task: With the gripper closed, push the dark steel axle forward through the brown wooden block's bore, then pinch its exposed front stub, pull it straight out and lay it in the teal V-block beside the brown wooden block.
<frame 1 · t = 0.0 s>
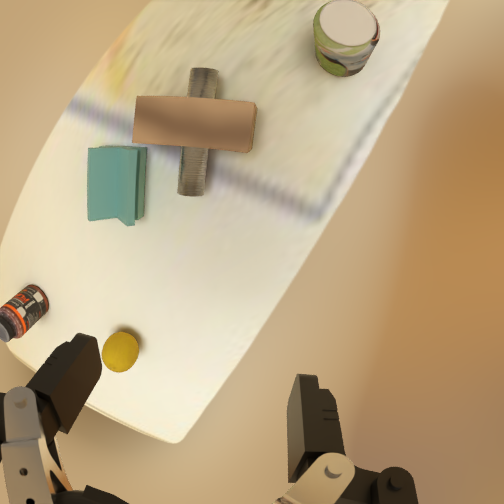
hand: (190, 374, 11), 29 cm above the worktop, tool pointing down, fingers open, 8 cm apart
v block: (124, 180, 38), on the worktop
lemon: (130, 335, 48), on the worktop
brown wooden block: (204, 123, 35), on the worktop
beverage can: (333, 53, 31), on the worktop
axle: (196, 131, 32), point 3 cm above the worktop, touching brown wooden block
supplement bottle: (37, 297, 47), on the worktop
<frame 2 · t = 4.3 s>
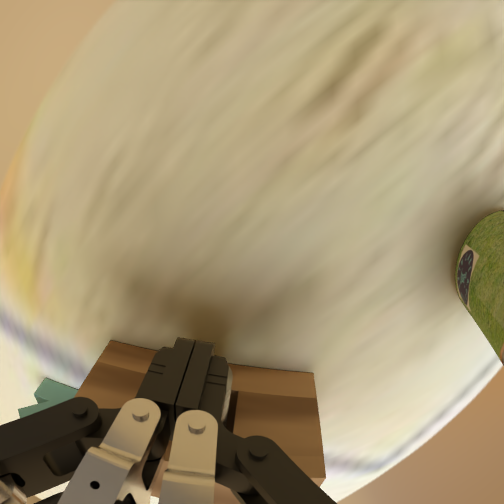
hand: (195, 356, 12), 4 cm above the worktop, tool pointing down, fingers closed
v block: (88, 423, 21), on the worktop
brown wooden block: (206, 389, 18), on the worktop
beverage can: (480, 253, 14), on the worktop
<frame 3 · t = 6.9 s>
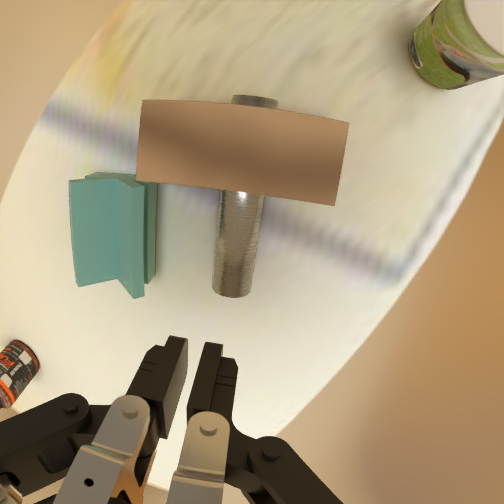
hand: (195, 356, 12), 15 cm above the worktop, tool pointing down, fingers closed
v block: (125, 223, 27), on the worktop
brown wooden block: (246, 142, 24), on the worktop
beverage can: (428, 54, 20), on the worktop
axle: (241, 198, 22), point 3 cm above the worktop, tilted 13°, touching brown wooden block
supplement bottle: (25, 354, 35), on the worktop
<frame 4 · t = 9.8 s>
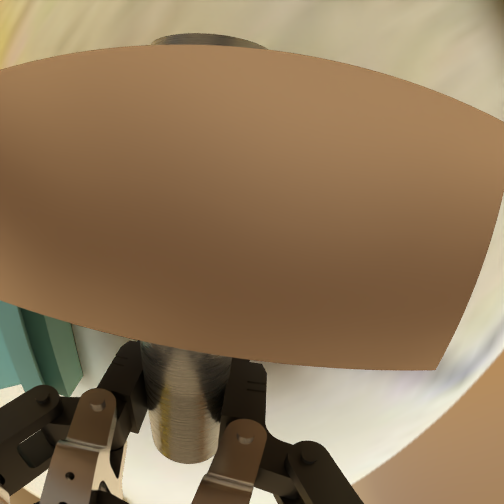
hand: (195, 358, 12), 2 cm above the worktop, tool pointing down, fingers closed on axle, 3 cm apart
v block: (27, 301, 14), on the worktop
brown wooden block: (212, 161, 11), on the worktop
axle: (187, 302, 9), point 3 cm above the worktop, tilted 6°, touching brown wooden block, gripper
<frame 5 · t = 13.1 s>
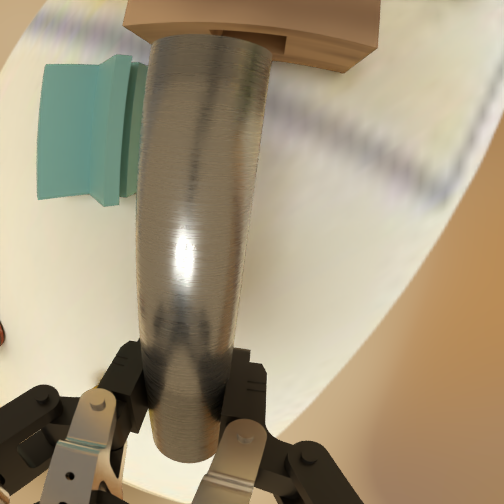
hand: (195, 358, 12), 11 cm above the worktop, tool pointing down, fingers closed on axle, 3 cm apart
v block: (105, 128, 20), on the worktop
brown wooden block: (258, 25, 17), on the worktop
axle: (187, 301, 9), point 13 cm above the worktop, tilted 6°, touching gripper
when the fingers open (5 cm above the worktop, at t = 16.9 s): axle stays where it is, resting on v block.
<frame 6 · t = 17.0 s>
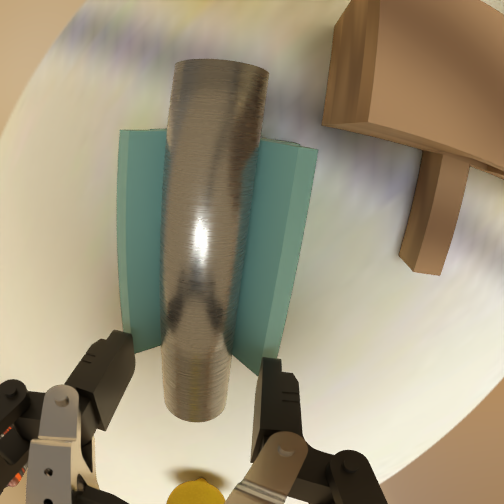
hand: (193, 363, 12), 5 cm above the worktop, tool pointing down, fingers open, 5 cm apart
v block: (218, 228, 15), on the worktop
lemon: (202, 477, 25), on the worktop
brown wooden block: (443, 107, 12), on the worktop
axle: (200, 269, 11), point 4 cm above the worktop, touching v block
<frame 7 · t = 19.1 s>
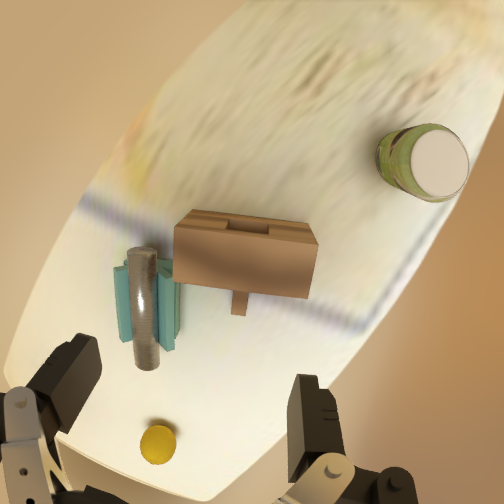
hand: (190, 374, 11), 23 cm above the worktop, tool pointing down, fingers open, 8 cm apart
v block: (155, 293, 36), on the worktop
lemon: (164, 425, 45), on the worktop
brown wooden block: (247, 239, 33), on the worktop
beverage can: (393, 156, 30), on the worktop
axle: (143, 313, 32), point 4 cm above the worktop, touching v block
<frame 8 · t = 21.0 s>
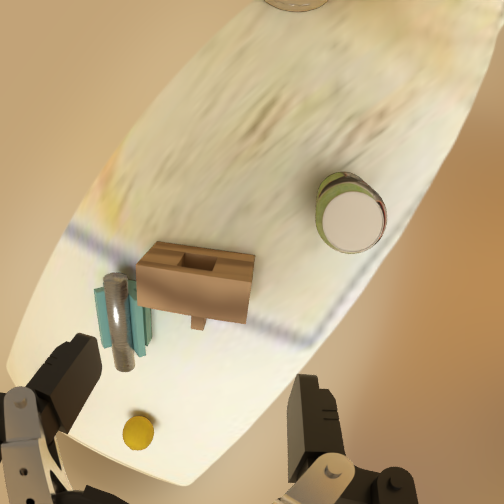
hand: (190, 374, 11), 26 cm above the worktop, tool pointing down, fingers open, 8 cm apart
v block: (130, 308, 42), on the worktop
lemon: (144, 416, 51), on the worktop
brown wooden block: (203, 267, 39), on the worktop
beverage can: (335, 195, 35), on the worktop
axle: (119, 325, 38), point 4 cm above the worktop, touching v block
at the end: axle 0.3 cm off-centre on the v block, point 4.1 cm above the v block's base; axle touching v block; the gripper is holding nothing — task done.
